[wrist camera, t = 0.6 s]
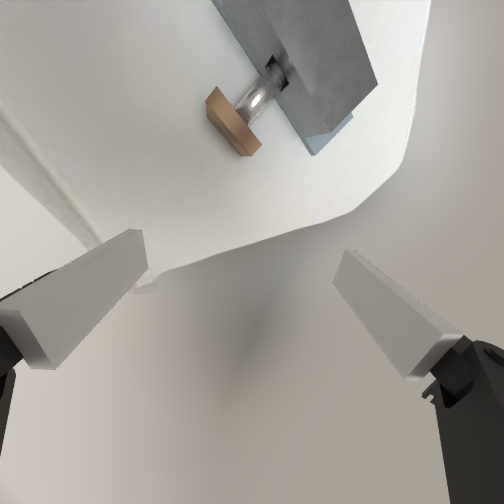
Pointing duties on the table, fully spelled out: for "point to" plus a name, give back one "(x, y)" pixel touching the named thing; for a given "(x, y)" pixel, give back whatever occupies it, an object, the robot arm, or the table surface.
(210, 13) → the table surface
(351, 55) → the housing
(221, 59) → the table surface
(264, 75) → the brown wooden block
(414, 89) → the table surface
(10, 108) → the table surface
